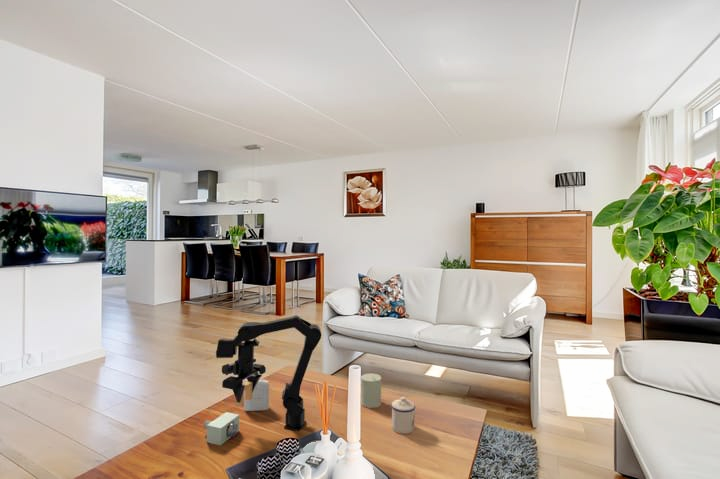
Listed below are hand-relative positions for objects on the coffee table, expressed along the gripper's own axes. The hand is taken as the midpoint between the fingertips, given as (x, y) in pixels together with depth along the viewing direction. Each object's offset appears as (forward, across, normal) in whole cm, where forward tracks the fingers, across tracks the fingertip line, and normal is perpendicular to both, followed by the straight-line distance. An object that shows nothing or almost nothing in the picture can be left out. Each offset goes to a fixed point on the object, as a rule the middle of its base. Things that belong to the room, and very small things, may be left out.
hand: (244, 398), depth 132 cm
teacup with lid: (+11, -23, +56) cm, 62 cm away
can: (+11, -37, +39) cm, 55 cm away
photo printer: (+12, -15, -5) cm, 20 cm away
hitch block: (+12, +6, -4) cm, 14 cm away
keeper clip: (+1, 0, 0) cm, 1 cm away
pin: (+11, +6, -6) cm, 14 cm away
